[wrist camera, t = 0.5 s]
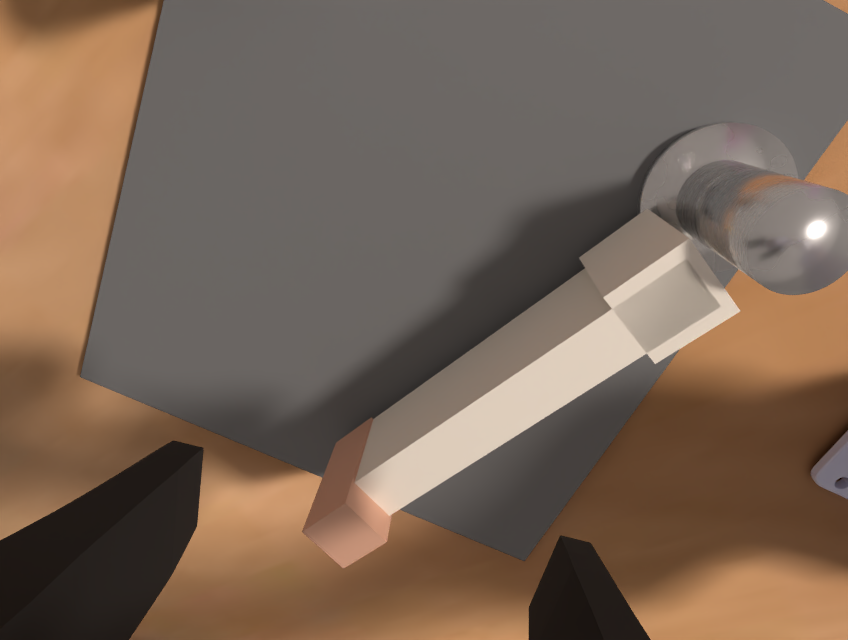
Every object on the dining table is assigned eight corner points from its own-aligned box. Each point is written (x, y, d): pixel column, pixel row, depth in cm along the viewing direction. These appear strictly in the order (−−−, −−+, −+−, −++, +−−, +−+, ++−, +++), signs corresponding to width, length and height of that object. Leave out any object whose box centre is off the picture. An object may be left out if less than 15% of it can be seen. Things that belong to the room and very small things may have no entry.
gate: (647, 208, 16) (705, 249, 12) (689, 268, 17) (758, 327, 13) (330, 437, 21) (295, 525, 16) (373, 479, 21) (349, 574, 17)
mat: (892, 45, 15) (902, 44, 15) (523, 553, 23) (524, 561, 23) (242, -313, 13) (235, -324, 13) (86, 372, 22) (80, 376, 21)
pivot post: (816, 160, 17) (967, 194, 11) (724, 286, 18) (821, 363, 13) (688, 94, 16) (787, 99, 11) (606, 229, 18) (659, 286, 13)
